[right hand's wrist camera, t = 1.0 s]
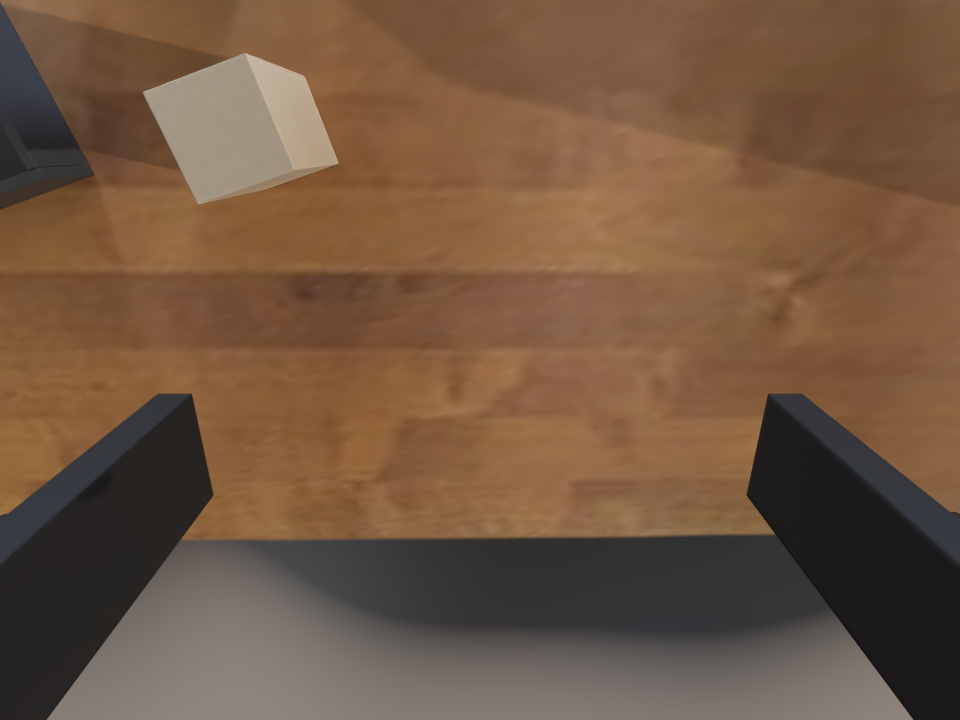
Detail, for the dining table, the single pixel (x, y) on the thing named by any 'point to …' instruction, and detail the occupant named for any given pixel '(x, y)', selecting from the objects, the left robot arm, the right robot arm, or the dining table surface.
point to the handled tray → (31, 128)
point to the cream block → (241, 127)
